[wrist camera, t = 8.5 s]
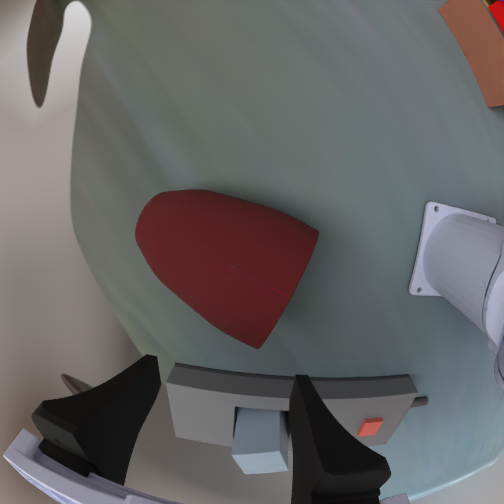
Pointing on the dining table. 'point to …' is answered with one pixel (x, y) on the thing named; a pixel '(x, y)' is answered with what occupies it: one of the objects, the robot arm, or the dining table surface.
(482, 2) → the blue-topped brown box
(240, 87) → the dining table surface
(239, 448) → the block
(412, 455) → the dining table surface
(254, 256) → the mug
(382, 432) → the power strip
